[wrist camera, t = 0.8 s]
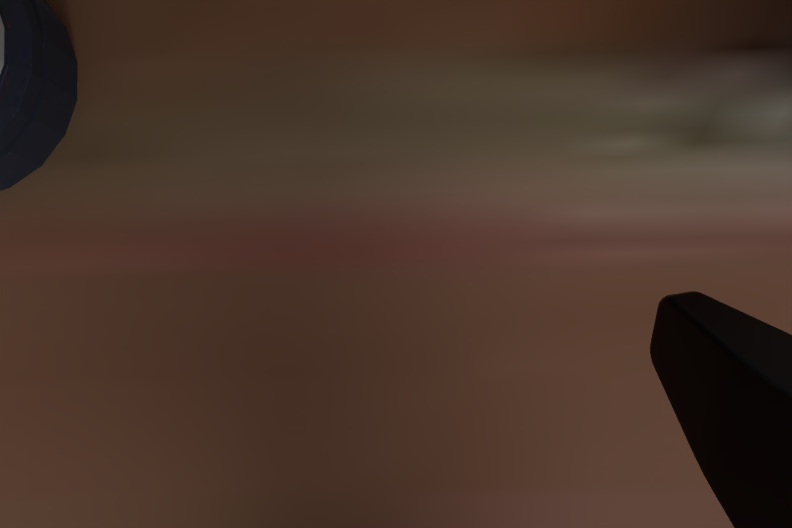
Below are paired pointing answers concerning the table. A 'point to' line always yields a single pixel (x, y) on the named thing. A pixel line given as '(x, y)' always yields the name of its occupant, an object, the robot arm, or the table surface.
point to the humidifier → (32, 86)
